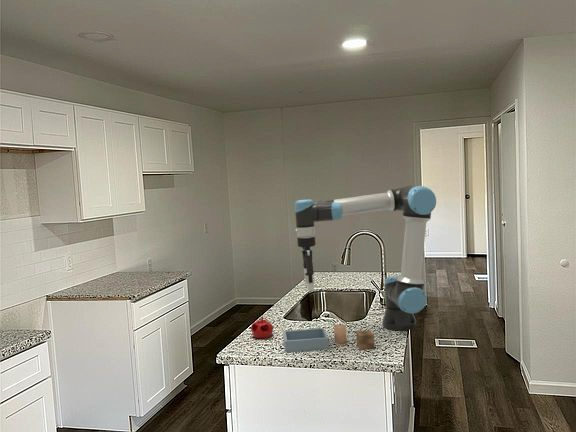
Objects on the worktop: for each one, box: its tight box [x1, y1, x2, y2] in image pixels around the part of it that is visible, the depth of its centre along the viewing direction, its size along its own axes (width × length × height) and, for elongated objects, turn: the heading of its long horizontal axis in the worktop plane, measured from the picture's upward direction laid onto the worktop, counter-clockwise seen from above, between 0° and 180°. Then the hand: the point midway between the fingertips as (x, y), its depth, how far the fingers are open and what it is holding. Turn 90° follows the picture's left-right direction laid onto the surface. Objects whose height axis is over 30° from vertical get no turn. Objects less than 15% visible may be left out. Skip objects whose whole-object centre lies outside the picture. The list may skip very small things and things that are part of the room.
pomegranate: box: [250, 316, 274, 339], centre depth 233 cm, size 10×10×9 cm
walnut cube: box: [355, 329, 375, 351], centre depth 211 cm, size 6×6×6 cm
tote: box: [282, 327, 330, 353], centre depth 218 cm, size 18×14×5 cm
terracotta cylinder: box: [333, 324, 348, 345], centre depth 219 cm, size 5×5×7 cm
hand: (309, 286), depth 216 cm, fingers open, 13 cm apart
